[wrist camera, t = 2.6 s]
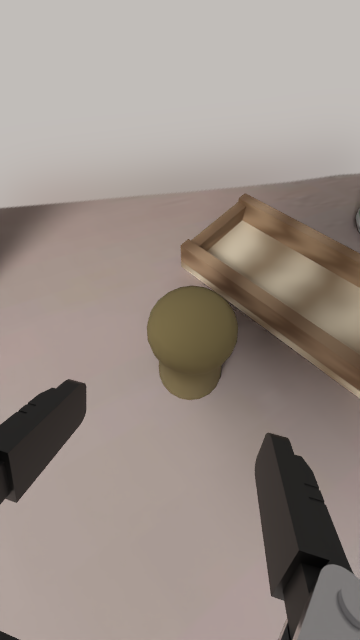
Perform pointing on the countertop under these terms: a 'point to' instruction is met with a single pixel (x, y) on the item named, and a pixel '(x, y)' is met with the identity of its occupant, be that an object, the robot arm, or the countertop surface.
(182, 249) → the birch tray
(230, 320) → the olive mushroom shape
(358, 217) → the soda can
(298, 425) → the countertop surface
